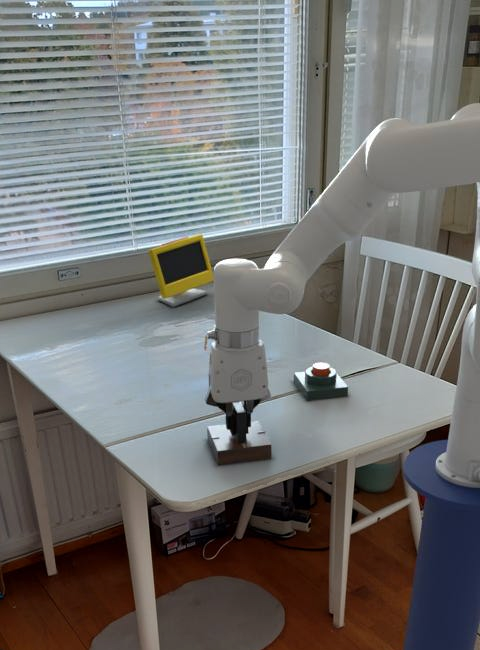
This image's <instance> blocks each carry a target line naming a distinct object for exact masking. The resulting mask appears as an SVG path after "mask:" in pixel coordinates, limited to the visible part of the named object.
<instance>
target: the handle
mask: <svg viewBox="0 0 480 650" xmlns="http://www.w3.org/2000/svg"><path fill="white" fill-rule="evenodd" d="M232 404H233V411H234V414H235V416H236V434H235V437H236V440H237V442H238V443H240V442H246V411H245V409H244V407H243V406H244V405H243V403H242V401H239V402H232Z"/></svg>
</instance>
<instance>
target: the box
mask: <svg viewBox="0 0 480 650" xmlns="http://www.w3.org/2000/svg"><path fill="white" fill-rule="evenodd" d="M312 371H313V365H312V366H310V367H308V368H306V370H305V371H296V372H293V384H294V385H295V386H296V388H297V389H298V390H299V392H300V394H301V395H302V396H303V398H304V399H305V401H306V402H311V401H318V400H328V399H337V398H346V397H348V396H349V394H348V393H349V386H348V384H347V383H346V382H345V381H344V380H343V378H342V377H341V376H340V375H339V374H338V372H337V370H336V368H333V367H331V366H330V371H329V374H328V375H325V376H318V375H314V374H313V373H312Z"/></svg>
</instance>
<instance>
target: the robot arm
mask: <svg viewBox="0 0 480 650" xmlns="http://www.w3.org/2000/svg"><path fill="white" fill-rule="evenodd" d="M472 184H476V191H477V203H476V225H475V237H474V245H473V246H474V248H473V253H472V262H471V273H472V277H473V280H474V283H475V286H476V298H475V304H474V305H473V306H472V307H471V309H470V310H469V312H468V313H467V315H466V317H465V319H464V323H463V328H462V336H461V346H460V347H461V349H460V358H459V359H460V360H459V368H458V375H457V381H456V388H455V392H454V399H453V406H452V413H451V419H450V425H449V432H448V437H447V440H448V444H447V450H446V452H445V453H443V454H441V455H440V456H439V457H438V458H437V460H436V465H435V468H436V471H437V473H438V474H439V475H440V476H441V477H442V478H444V479H445V480H447V481H449V482H451V483H453V484H456V485H459V486H464V487H470V488H480V102H475V103H470V104H466V105H465V106H463V107H461V108H460V109H459V110H457V111H456V112H455V114H454V115H453V116H452V117H451V118H450V119H446V120H441V121H434V122H428V123H419V124H413V123H412V122H410V121H408V120H406V119H404V118H399V117H396V118H395V117H394V118H389V119H385V120H384V121H382V122H381V123H379V124H378V125H377V126H376V127H375V128H374V129H373V130H372V131H371V132H370V134H369V135H368V136H367V137H366V138H365V139H364V140H363V142H362V144H360V146H359V147H358V148H357V149H356V151H355V152H354V153H353V155H351V157H350V158H349V160H348V161H347V163H345V164H344V166H343V167H342V168H341V169H340V171H339V172H338V174H337V175H335V177H334V178H333V180H331V182H330V183H329V184H328V185H327V187H326V188H325V189H324V190H323V192H322V193H321V194H320V195H319V197H318V198H317V199H316V200H315V201H314V202H313V204H312V205H311V207H310V208H309V209H308V210H307V211H306V213H305V214H304V215H303V216H302V218H301V219H299V221H298V222H297V224H295V226H294V227H292V229H291V230H290V232H289V233H288V234H287V236H286V237H285V238H284V239H283V240H282V242H281V243H280V244H279V246H278V247H277V248H276V249H275V251H274V252H272V254H271V255H270V257H269V258H268V260H267V262H266V263H265V265H264V267H262V268H259V267H258V265H257V264H256V263H255V262H254V261H252V260H249V259H246V258H228V259H223V260H221V261H219V262H218V263H216V264H215V266H214V268H213V271H212V272H213V281H212V282H213V304H214V305H213V307H214V325H213V328H212V329H211V330H209V331H206V335H207V340H213V341H212V342H211V347H210V352H209V362H208V389H207V392H206V394H205V397H204V402H205V404H206V405H207V406H212V407H216V408H218V409H220V410H221V411H222V412H223V413H224V414H225V424H226V428H227V430H230V432H231V434H232V435H235V434H236V416H235V414H234V411H233V404H232V402H239V401H240V402H243V403H242V406H243V407H244V409H245V411H246V434H248V427H251V421H252V414H253V413H254V409H255V408H257V406H258V405H259V404H260V403H261V402H264V401H266V400H268V399H270V398H271V397H272V394H271V392H270V389H269V375H268V363H267V355H266V354H267V353H266V347H265V343H264V341H263V340H261V339H260V312H264V313H268V314H273V315H286V314H290V313H292V312H294V311H295V310H297V309H298V307H299V306H300V305H301V303H302V301H303V298H304V295H305V289H306V285H307V282H309V280H310V278H311V277H312V276H313V275H314V273H315V272H316V271H317V270H318V269H319V267H320V266H321V265H322V264H323V263H324V262H325V261H326V259H327V258H329V256H330V255H331V254H332V253H333V252H335V250H336V249H337V248H339V247H340V246H341V245H343V244H345V243H347V242H350V241H352V240H355V239H357V237H359V236H360V235H361V234H362V233H363V232H364V231H365V230H366V229H367V227H369V225H370V224H371V223H372V222H373V220H374V219H375V218H376V217H377V215H378V214H380V212H381V211H382V210H383V209H384V207H385V206H386V205H387V204H388V203H389V202H390V200H392V198H393V197H394V196H396V194H403V193H414V192H415V193H416V192H423V191H431V190H437V189H444V188H451V187H459V186H465V185H472Z"/></svg>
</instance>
